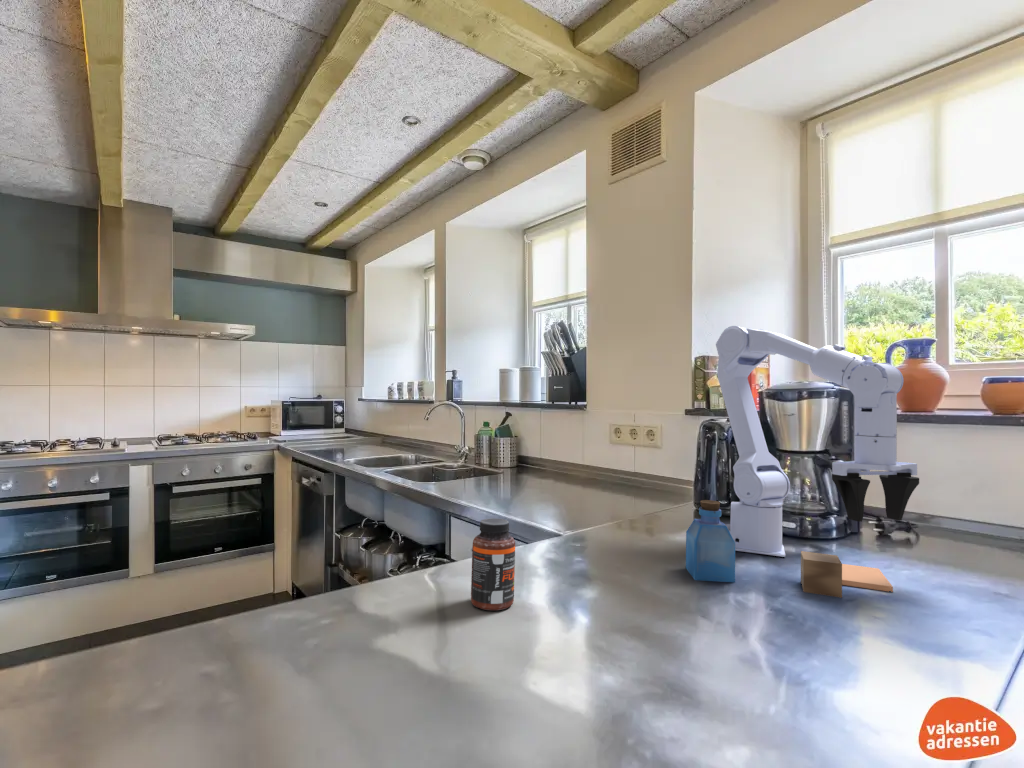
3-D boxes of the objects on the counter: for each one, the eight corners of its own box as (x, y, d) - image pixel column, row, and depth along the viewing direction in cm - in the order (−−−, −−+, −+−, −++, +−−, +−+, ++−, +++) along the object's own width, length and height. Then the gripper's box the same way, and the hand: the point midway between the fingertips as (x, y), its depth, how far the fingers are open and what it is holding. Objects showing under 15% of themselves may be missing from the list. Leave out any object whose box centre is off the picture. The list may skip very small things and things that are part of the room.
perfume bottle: (723, 570, 89) (723, 499, 90) (734, 582, 83) (735, 506, 84) (685, 568, 90) (686, 497, 90) (694, 580, 84) (695, 504, 84)
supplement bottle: (509, 614, 69) (511, 527, 69) (465, 610, 70) (467, 524, 70) (517, 598, 74) (519, 517, 75) (477, 594, 76) (479, 515, 76)
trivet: (817, 581, 85) (817, 576, 85) (811, 564, 94) (811, 559, 94) (892, 592, 80) (892, 586, 80) (878, 573, 89) (878, 568, 90)
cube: (803, 592, 80) (803, 559, 80) (800, 582, 84) (800, 551, 84) (842, 598, 78) (842, 564, 78) (837, 587, 82) (837, 555, 82)
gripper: (858, 437, 81) (857, 526, 80) (935, 438, 83) (935, 524, 83) (822, 434, 87) (821, 516, 87) (895, 435, 90) (894, 514, 90)
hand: (874, 519), depth 85 cm, fingers open, 7 cm apart
